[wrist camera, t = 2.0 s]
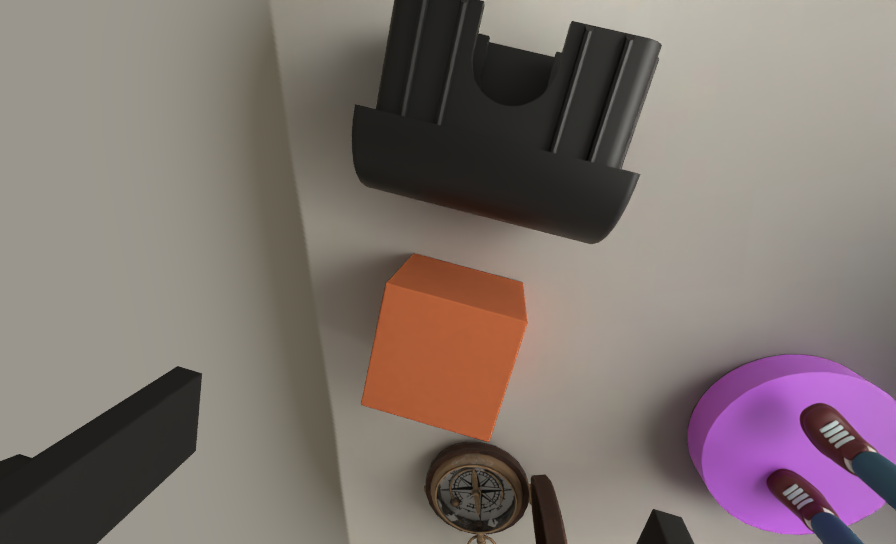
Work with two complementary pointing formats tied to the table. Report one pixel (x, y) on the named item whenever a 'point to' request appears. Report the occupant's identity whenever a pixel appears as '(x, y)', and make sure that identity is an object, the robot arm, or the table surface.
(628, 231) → the table surface
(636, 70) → the end cap
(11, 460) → the robot arm
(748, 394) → the figurine
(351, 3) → the table surface
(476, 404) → the orange cube
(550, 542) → the compass
